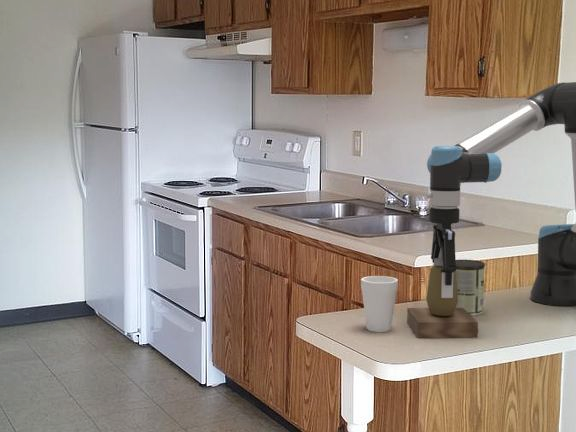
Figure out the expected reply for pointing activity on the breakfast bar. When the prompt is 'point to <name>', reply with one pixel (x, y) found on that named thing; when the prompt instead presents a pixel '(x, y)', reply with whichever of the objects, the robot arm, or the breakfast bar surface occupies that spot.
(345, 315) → the breakfast bar surface
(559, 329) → the breakfast bar surface
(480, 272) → the coffee can
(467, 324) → the walnut base
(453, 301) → the squeeze bottle
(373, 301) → the foam cup
